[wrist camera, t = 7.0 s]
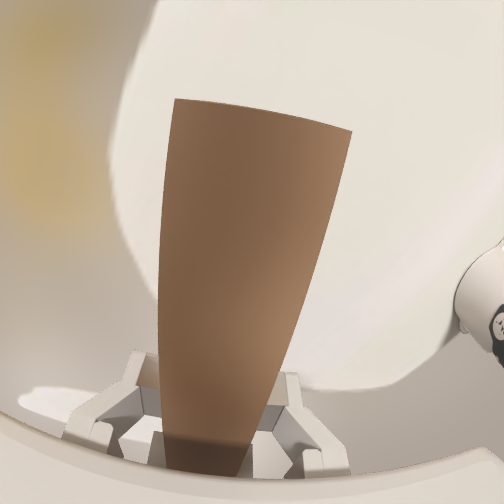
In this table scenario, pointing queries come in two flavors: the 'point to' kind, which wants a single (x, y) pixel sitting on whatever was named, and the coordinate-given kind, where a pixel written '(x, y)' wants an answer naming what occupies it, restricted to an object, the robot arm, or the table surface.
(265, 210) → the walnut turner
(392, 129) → the table surface
